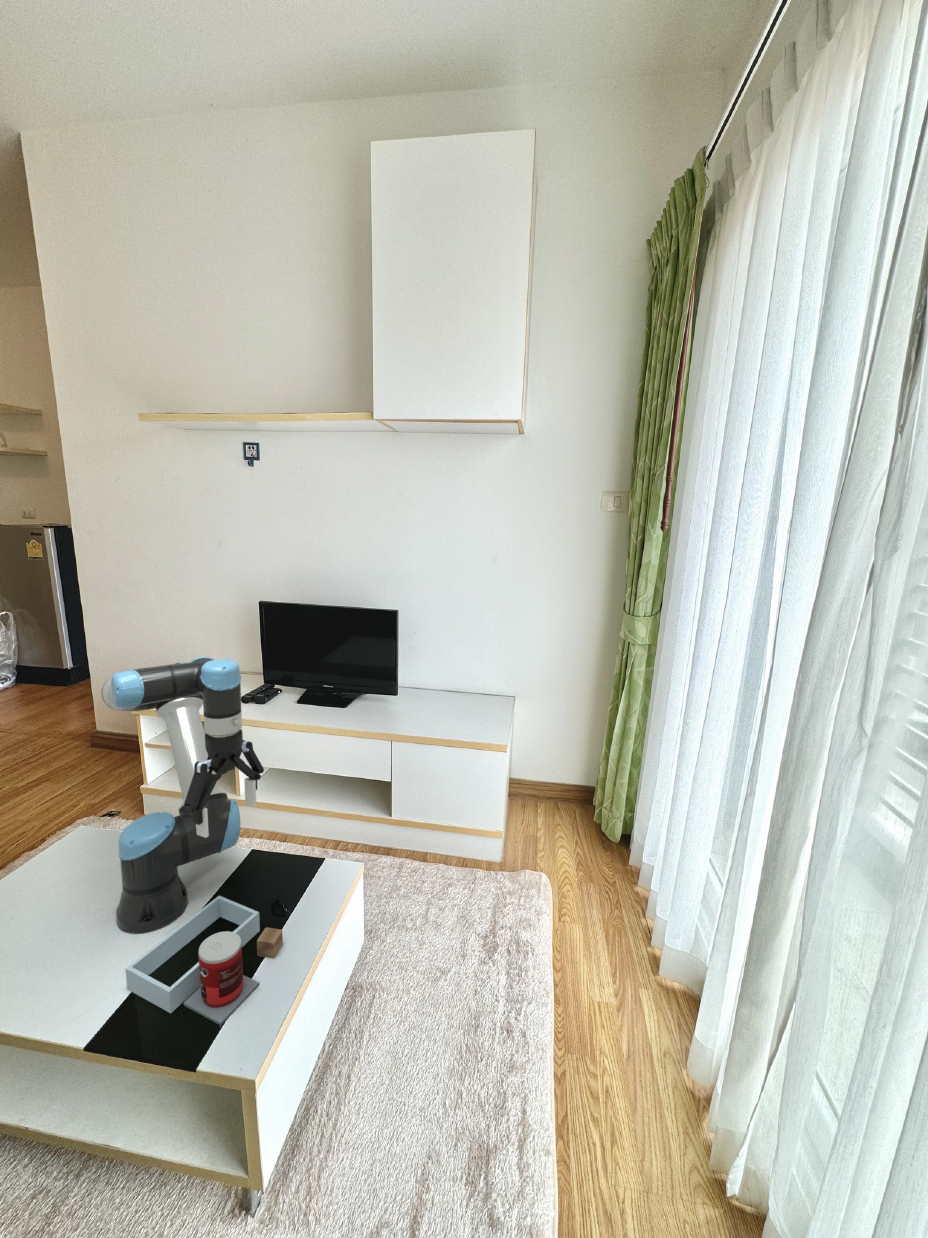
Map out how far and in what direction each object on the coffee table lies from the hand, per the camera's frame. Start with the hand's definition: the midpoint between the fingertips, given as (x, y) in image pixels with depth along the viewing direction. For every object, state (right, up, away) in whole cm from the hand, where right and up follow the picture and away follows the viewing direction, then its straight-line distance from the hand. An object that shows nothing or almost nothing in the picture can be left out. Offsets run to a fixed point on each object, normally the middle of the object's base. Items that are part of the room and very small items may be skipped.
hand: (228, 819), depth 121 cm
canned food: (+4, -31, -11) cm, 33 cm away
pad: (+4, -32, -11) cm, 34 cm away
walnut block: (+9, -30, 0) cm, 31 cm away
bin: (-5, -30, -3) cm, 30 cm away
